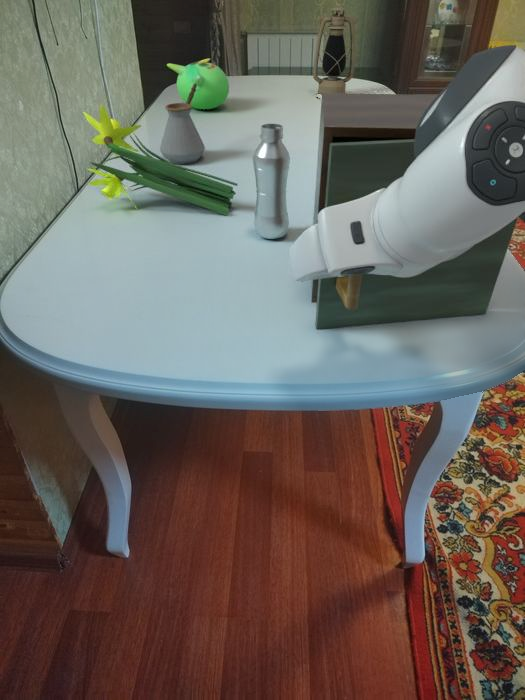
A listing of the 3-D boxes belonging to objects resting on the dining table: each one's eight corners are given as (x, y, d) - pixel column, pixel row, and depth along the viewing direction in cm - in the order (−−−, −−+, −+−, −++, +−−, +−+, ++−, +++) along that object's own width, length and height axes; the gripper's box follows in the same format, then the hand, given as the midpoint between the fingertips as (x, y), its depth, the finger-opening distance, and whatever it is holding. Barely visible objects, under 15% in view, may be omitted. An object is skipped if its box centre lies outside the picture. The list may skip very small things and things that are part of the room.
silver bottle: (282, 245, 95) (285, 133, 82) (248, 239, 97) (246, 129, 84) (292, 231, 99) (297, 123, 87) (260, 225, 101) (260, 119, 89)
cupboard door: (505, 337, 73) (576, 150, 56) (326, 354, 70) (345, 162, 53) (482, 310, 78) (541, 133, 61) (315, 325, 75) (329, 142, 58)
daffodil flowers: (216, 236, 100) (47, 176, 99) (224, 241, 114) (76, 189, 113) (244, 151, 97) (71, 89, 97) (248, 168, 112) (98, 114, 111)
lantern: (347, 92, 190) (356, -5, 172) (354, 99, 181) (365, -2, 162) (309, 93, 190) (314, -5, 171) (314, 100, 180) (320, -2, 161)
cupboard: (482, 310, 78) (541, 131, 62) (311, 303, 80) (324, 126, 63) (456, 254, 92) (499, 95, 75) (311, 249, 94) (321, 92, 77)
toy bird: (239, 108, 172) (238, 59, 163) (203, 118, 162) (199, 66, 153) (202, 99, 181) (199, 53, 172) (166, 109, 171) (161, 59, 162)
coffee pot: (198, 168, 127) (193, 103, 117) (154, 165, 129) (146, 101, 119) (220, 142, 143) (217, 83, 134) (181, 140, 145) (175, 81, 135)
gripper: (491, 189, 52) (424, 235, 66) (305, 210, 48) (274, 254, 62) (505, 248, 52) (434, 282, 65) (317, 274, 48) (283, 304, 61)
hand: (355, 268), depth 64 cm, fingers closed
